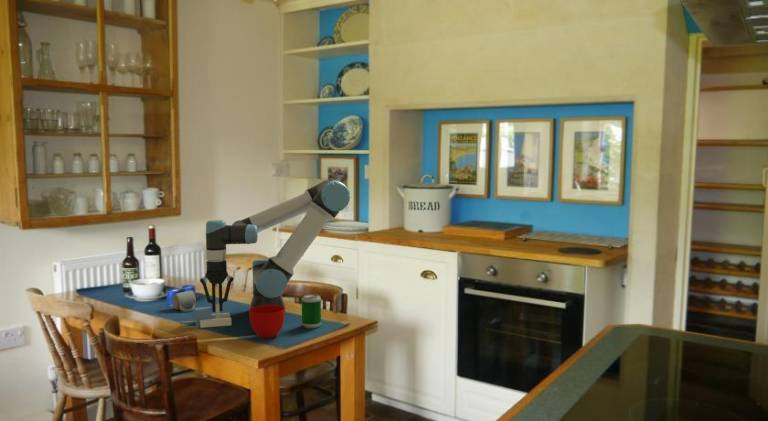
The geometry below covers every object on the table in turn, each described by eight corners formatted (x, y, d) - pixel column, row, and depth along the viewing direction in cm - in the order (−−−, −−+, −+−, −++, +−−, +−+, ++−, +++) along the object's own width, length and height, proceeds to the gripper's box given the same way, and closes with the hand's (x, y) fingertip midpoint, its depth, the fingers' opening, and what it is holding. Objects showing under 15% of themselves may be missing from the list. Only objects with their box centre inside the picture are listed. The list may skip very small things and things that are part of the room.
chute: (229, 321, 254) (229, 312, 253) (231, 327, 245) (231, 318, 244) (181, 325, 248) (181, 316, 248) (181, 331, 239) (180, 322, 239)
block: (211, 321, 250) (211, 306, 249) (212, 325, 244) (211, 310, 244) (195, 322, 248) (195, 307, 247) (195, 326, 243) (195, 311, 242)
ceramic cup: (265, 326, 246) (264, 301, 245) (292, 335, 234) (291, 308, 233) (236, 333, 237) (235, 307, 236) (263, 343, 225) (262, 315, 224)
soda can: (324, 327, 245) (324, 296, 244) (306, 329, 242) (306, 298, 241) (316, 322, 252) (316, 292, 251) (299, 325, 248) (298, 295, 247)
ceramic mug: (171, 308, 275) (171, 291, 274) (190, 305, 280) (190, 288, 279) (180, 314, 266) (180, 296, 266) (199, 311, 271) (199, 293, 270)
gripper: (232, 257, 251) (233, 316, 253) (198, 259, 247) (200, 318, 249) (234, 260, 244) (235, 320, 246) (199, 262, 240) (200, 323, 242)
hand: (217, 319), depth 248 cm, fingers closed
